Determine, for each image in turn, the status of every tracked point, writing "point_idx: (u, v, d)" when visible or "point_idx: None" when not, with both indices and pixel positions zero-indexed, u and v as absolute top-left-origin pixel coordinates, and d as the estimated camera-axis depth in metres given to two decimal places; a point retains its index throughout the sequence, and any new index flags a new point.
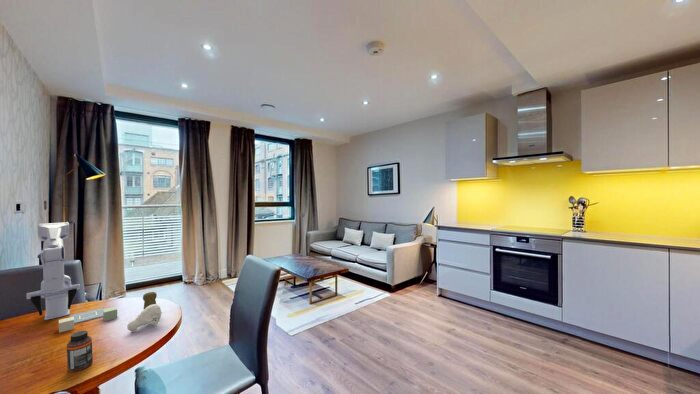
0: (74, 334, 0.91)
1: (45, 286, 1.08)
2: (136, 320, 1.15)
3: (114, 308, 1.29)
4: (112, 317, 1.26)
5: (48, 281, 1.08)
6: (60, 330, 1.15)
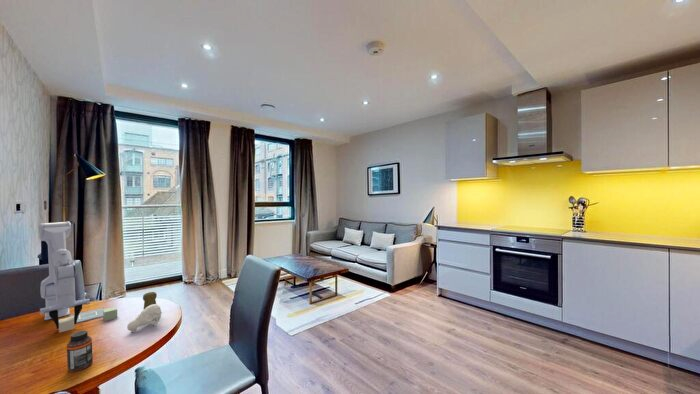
0: (74, 334, 0.91)
1: (57, 302, 1.14)
2: (136, 320, 1.15)
3: (114, 308, 1.29)
4: (112, 317, 1.26)
5: (60, 297, 1.14)
6: (60, 330, 1.15)
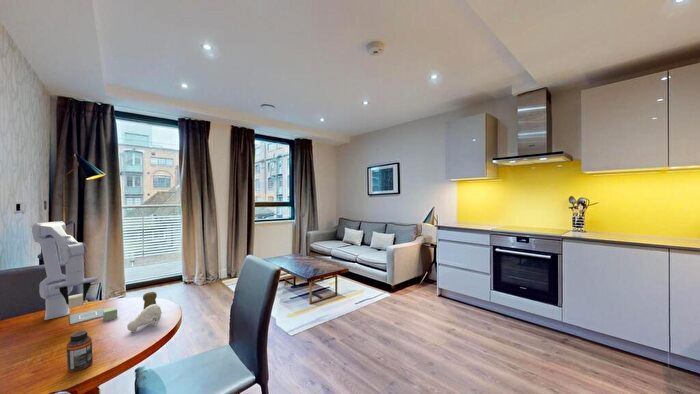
0: (74, 334, 0.91)
1: (67, 279, 1.20)
2: (136, 320, 1.15)
3: (114, 308, 1.29)
4: (112, 317, 1.26)
5: (70, 274, 1.20)
6: (70, 306, 1.20)
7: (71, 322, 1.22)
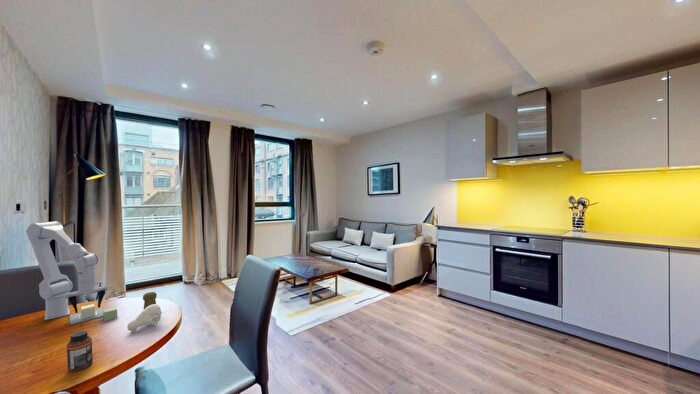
0: (74, 334, 0.91)
1: (80, 288, 1.26)
2: (136, 320, 1.15)
3: (114, 308, 1.29)
4: (112, 317, 1.26)
5: (82, 284, 1.26)
6: (82, 316, 1.27)
7: (71, 322, 1.22)
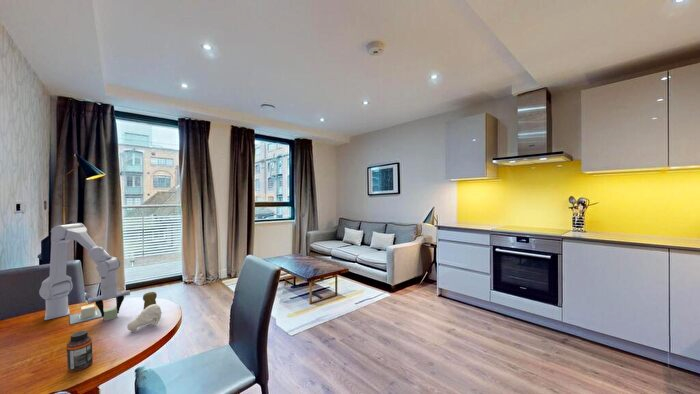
0: (74, 334, 0.91)
1: (103, 293, 1.24)
2: (136, 320, 1.15)
3: (114, 307, 1.29)
4: (112, 317, 1.26)
5: (105, 288, 1.24)
6: (82, 316, 1.27)
7: (71, 322, 1.22)
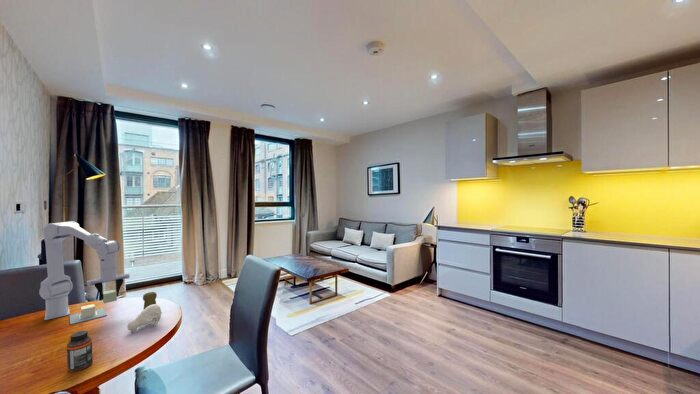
0: (74, 334, 0.91)
1: (102, 275, 1.24)
2: (136, 320, 1.15)
3: (113, 290, 1.28)
4: (111, 299, 1.26)
5: (105, 271, 1.24)
6: (82, 316, 1.27)
7: (71, 322, 1.22)
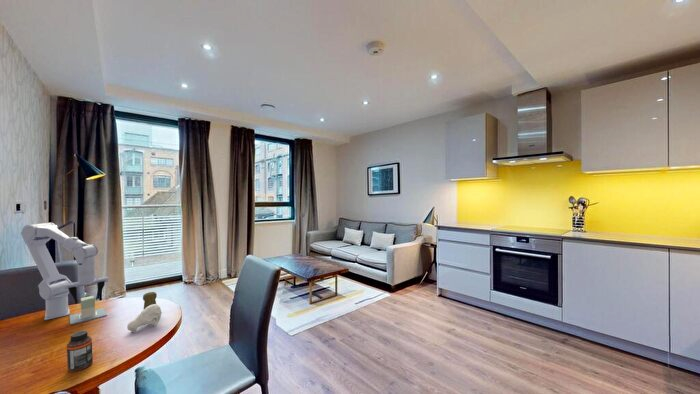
0: (74, 334, 0.91)
1: (80, 279, 1.26)
2: (136, 320, 1.15)
3: (92, 297, 1.31)
4: (89, 306, 1.28)
5: (82, 275, 1.26)
6: (82, 316, 1.27)
7: (71, 322, 1.22)
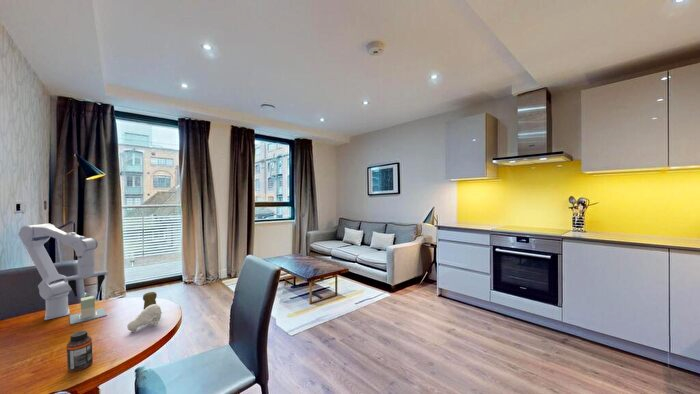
0: (74, 334, 0.91)
1: (79, 272, 1.26)
2: (136, 320, 1.15)
3: (92, 297, 1.31)
4: (89, 306, 1.28)
5: (82, 268, 1.26)
6: (82, 316, 1.27)
7: (71, 322, 1.22)
